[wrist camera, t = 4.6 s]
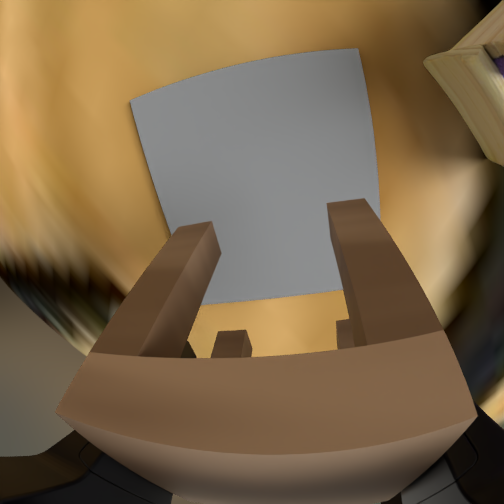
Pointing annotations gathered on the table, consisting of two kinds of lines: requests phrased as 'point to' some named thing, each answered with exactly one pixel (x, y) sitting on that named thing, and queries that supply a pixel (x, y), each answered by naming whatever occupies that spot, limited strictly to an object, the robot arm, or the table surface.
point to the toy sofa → (477, 81)
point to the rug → (264, 166)
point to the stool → (275, 384)
